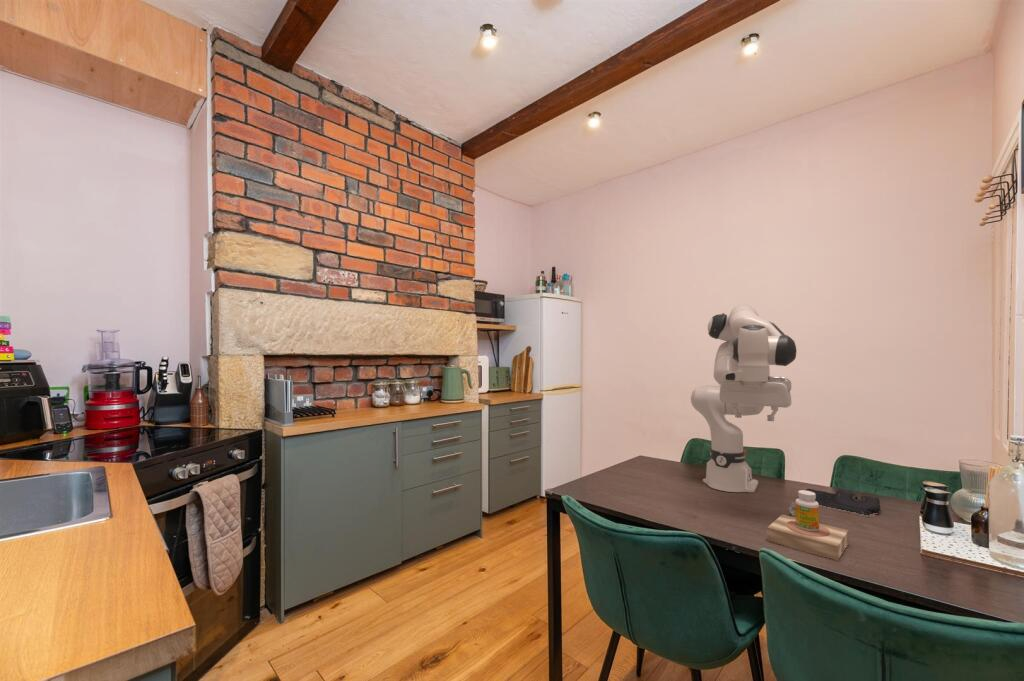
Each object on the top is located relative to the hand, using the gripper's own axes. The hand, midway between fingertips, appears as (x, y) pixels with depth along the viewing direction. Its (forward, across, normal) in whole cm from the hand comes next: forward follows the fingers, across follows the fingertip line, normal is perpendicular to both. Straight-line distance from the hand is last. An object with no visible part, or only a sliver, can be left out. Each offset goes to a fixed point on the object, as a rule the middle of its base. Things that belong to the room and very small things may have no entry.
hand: (754, 419), depth 139 cm
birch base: (+31, -16, +9) cm, 36 cm away
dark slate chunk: (+32, -16, -34) cm, 49 cm away
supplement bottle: (+27, -16, +9) cm, 33 cm away
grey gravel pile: (+32, -11, -10) cm, 35 cm away
